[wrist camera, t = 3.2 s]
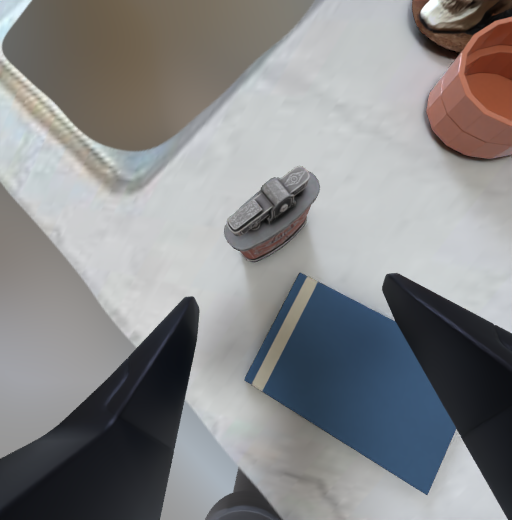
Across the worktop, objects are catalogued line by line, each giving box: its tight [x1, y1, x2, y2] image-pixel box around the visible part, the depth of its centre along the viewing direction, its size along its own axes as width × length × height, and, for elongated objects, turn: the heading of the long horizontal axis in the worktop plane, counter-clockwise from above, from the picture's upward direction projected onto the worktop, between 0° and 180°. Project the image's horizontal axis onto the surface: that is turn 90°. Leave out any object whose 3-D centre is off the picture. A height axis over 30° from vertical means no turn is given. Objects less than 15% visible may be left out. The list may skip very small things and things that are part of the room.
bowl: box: [426, 17, 512, 159], centre depth 20 cm, size 11×11×4 cm
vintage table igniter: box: [224, 166, 320, 262], centre depth 18 cm, size 8×3×10 cm, turn 127°
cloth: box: [245, 273, 456, 495], centre depth 20 cm, size 12×18×1 cm, turn 62°
